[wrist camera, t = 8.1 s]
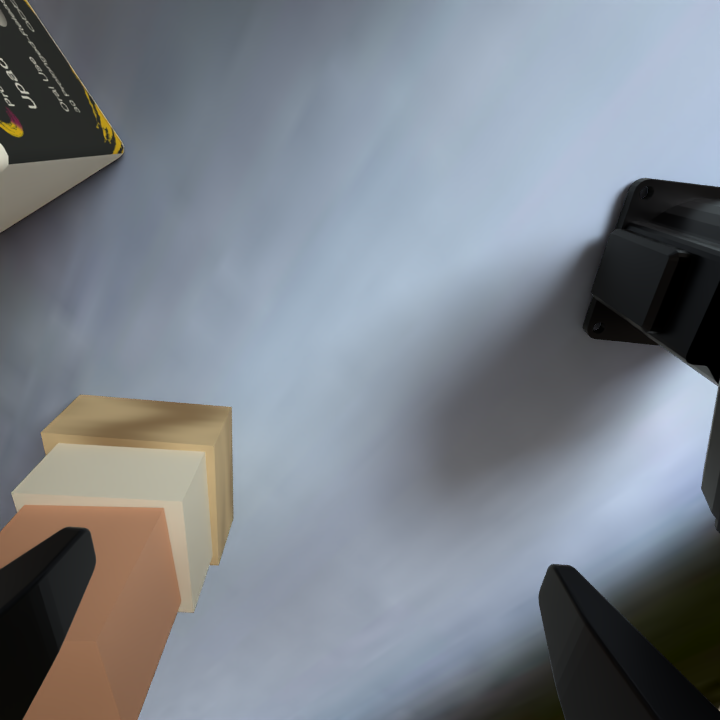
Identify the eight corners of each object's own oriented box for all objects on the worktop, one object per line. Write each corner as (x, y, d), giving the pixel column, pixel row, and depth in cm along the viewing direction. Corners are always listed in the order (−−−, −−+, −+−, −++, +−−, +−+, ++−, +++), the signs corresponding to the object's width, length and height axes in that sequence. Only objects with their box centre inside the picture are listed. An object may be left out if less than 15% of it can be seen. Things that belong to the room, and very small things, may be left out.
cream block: (205, 451, 20) (182, 501, 17) (212, 554, 22) (193, 612, 20) (58, 442, 20) (11, 492, 17) (82, 548, 22) (45, 606, 20)
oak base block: (233, 402, 23) (214, 446, 20) (234, 512, 26) (218, 565, 23) (84, 390, 23) (40, 432, 19) (103, 503, 26) (68, 556, 22)
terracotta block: (164, 508, 17) (96, 641, 13) (181, 601, 19) (128, 743, 15) (24, 504, 17) (-94, 637, 13) (57, 599, 19) (-33, 741, 15)
